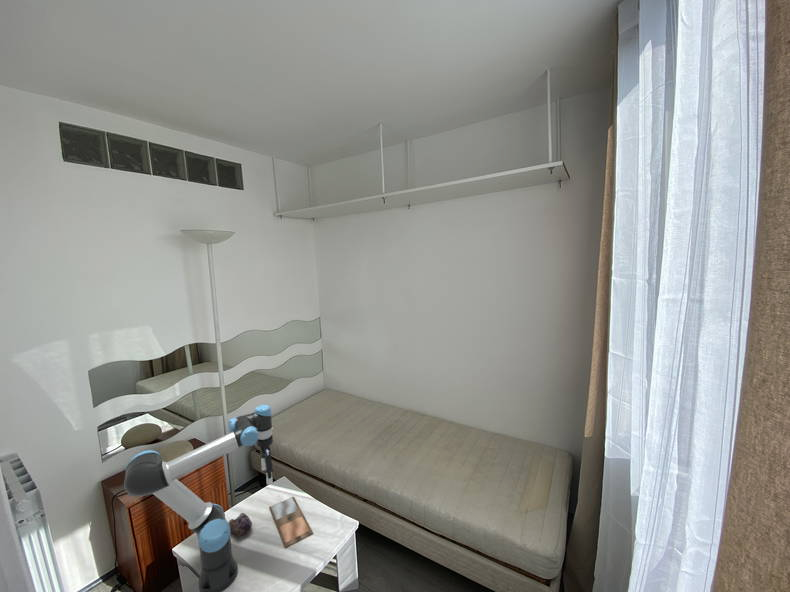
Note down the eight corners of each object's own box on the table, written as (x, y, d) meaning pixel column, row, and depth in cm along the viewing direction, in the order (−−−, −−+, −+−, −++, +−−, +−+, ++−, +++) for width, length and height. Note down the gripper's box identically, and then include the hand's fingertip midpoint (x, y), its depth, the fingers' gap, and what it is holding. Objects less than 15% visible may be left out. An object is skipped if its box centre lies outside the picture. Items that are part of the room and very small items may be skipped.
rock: (230, 535, 156) (246, 543, 160) (243, 516, 161) (258, 524, 165) (223, 525, 165) (238, 533, 169) (236, 507, 169) (250, 515, 174)
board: (285, 548, 154) (285, 547, 154) (269, 508, 182) (268, 507, 182) (313, 533, 162) (313, 532, 162) (293, 497, 189) (293, 496, 189)
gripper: (277, 444, 155) (280, 486, 156) (267, 425, 176) (270, 462, 177) (261, 449, 151) (263, 492, 152) (252, 428, 172) (255, 466, 173)
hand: (267, 476), depth 165 cm, fingers open, 13 cm apart
